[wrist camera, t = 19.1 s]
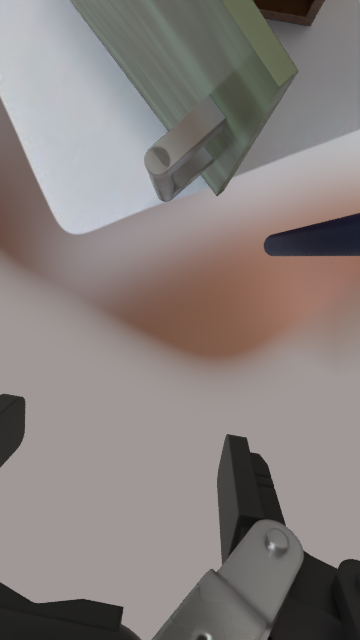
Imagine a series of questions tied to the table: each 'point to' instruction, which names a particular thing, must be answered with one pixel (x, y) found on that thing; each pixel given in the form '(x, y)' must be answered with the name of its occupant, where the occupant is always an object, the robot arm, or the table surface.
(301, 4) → the cupboard
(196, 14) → the cupboard door
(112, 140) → the table surface
